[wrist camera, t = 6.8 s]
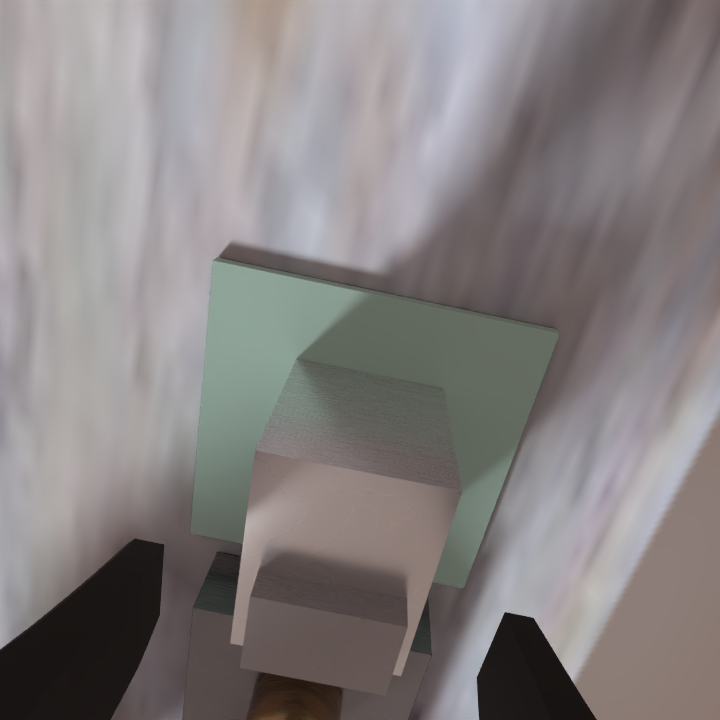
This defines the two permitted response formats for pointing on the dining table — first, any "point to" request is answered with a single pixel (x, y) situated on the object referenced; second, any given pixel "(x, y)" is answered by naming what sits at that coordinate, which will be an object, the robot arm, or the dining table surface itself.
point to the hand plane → (274, 692)
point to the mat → (368, 354)
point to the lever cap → (344, 526)
